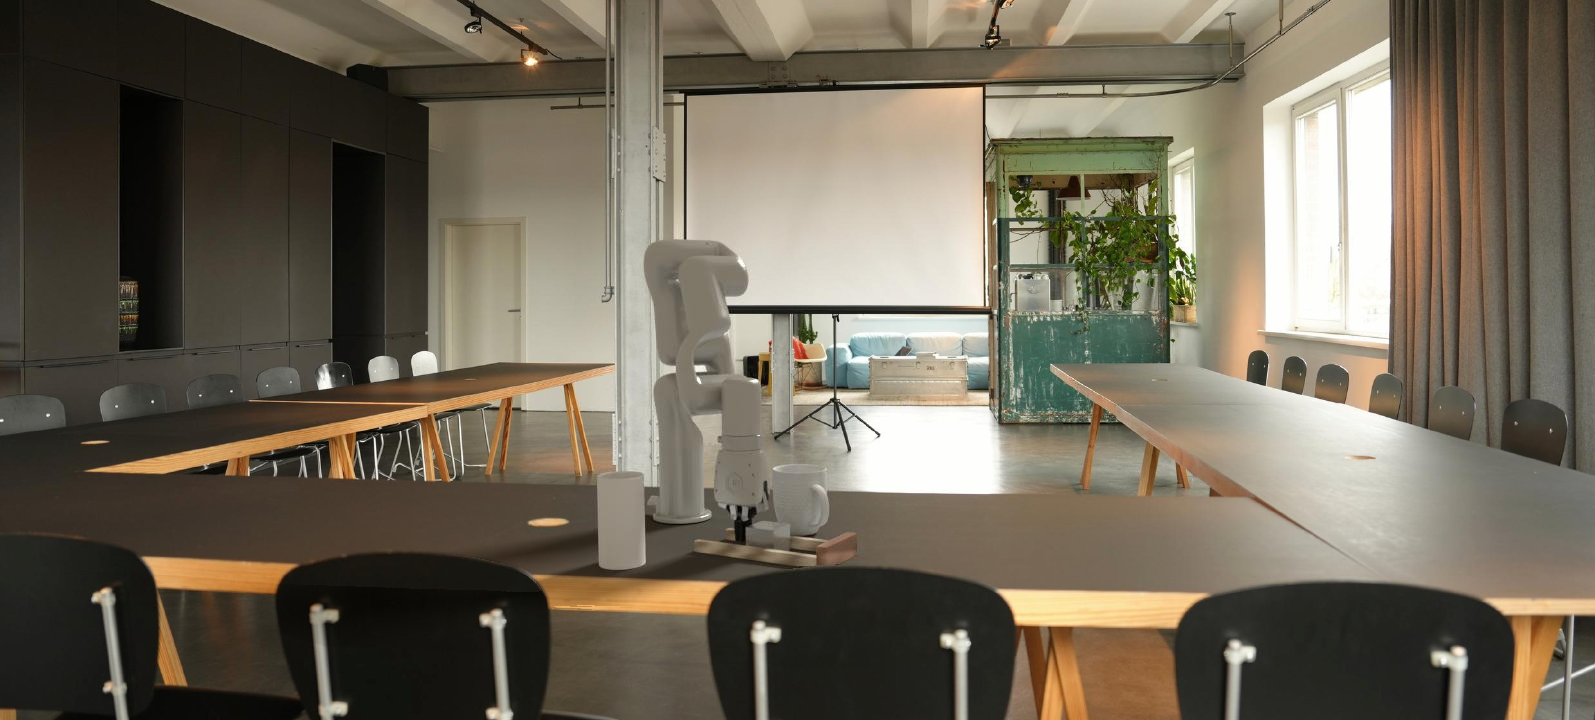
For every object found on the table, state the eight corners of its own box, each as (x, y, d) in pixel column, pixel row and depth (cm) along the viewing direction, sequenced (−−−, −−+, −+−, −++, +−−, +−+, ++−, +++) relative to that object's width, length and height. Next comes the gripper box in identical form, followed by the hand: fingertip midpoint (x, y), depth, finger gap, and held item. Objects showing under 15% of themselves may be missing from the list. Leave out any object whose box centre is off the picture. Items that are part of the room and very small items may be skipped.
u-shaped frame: (694, 551, 179) (693, 530, 179) (729, 537, 189) (729, 517, 189) (826, 570, 165) (826, 547, 165) (857, 554, 176) (857, 533, 175)
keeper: (746, 553, 177) (745, 526, 177) (762, 546, 182) (762, 520, 182) (774, 557, 174) (773, 530, 174) (790, 549, 179) (789, 523, 179)
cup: (601, 558, 175) (599, 471, 174) (647, 556, 176) (645, 470, 175) (596, 570, 167) (594, 479, 166) (643, 568, 167) (642, 478, 167)
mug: (849, 537, 189) (849, 471, 188) (803, 545, 183) (802, 477, 182) (807, 523, 201) (806, 461, 201) (762, 530, 195) (761, 467, 194)
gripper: (697, 443, 180) (699, 539, 181) (765, 448, 173) (766, 549, 174) (720, 438, 187) (722, 531, 188) (786, 443, 179) (787, 540, 180)
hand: (743, 539), depth 181 cm, fingers closed
